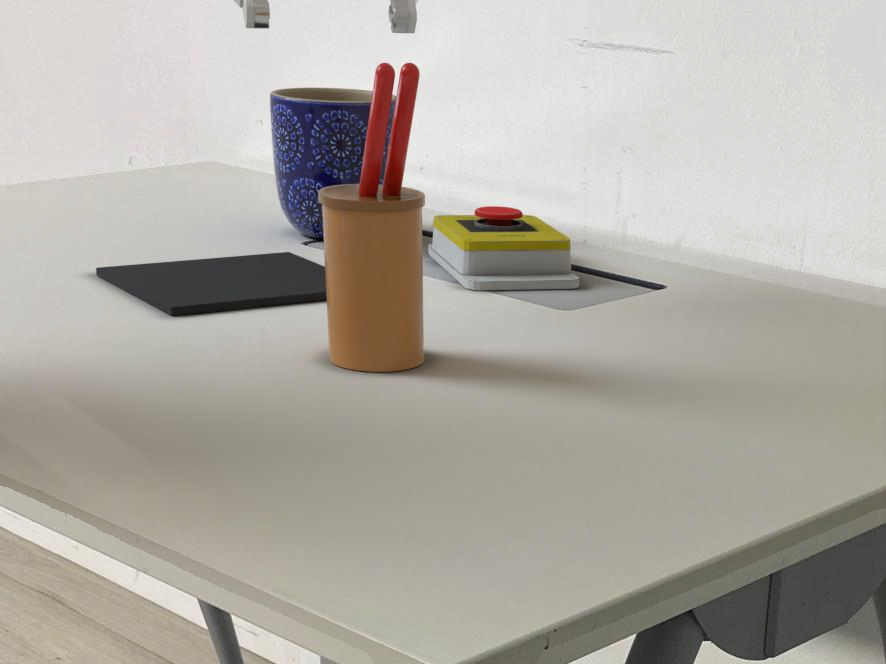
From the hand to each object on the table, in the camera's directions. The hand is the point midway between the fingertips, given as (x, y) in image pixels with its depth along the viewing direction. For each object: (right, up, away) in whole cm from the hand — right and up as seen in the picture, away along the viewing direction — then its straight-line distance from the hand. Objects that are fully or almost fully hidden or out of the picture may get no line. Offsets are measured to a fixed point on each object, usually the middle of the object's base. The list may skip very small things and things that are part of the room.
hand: (332, 24), depth 92 cm
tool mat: (-10, -11, +15) cm, 22 cm away
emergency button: (+9, -7, +25) cm, 28 cm away
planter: (-6, 0, +35) cm, 35 cm away
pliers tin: (+3, -22, 0) cm, 22 cm away
